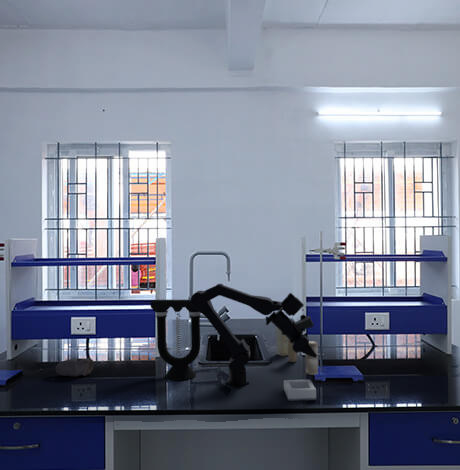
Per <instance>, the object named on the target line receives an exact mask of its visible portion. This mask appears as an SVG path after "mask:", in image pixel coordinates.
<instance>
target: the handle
mask: <svg viewBox="0 0 460 470" xmlns="http://www.w3.org/2000/svg"><path fill="white" fill-rule="evenodd" d="M287 356H288V361H289V362H290V363H291V362H292V363H296V362H297V357H298V353H296V352H295V351H294V350H293V349H292V343H291V342H290V340H289V339H288V355H287Z"/></svg>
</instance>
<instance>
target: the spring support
mask: <svg viewBox="0 0 460 470" xmlns="http://www.w3.org/2000/svg"><path fill="white" fill-rule="evenodd" d="M150 308H151V309H152V310H153V311H154V312H155V314H156V315H155V317H156V329H157V330H156V331H157V332H156V333H157V336H156V340H157V342H156V343H157V346H156V347H157V351H158V354H159V355H160V358H161V359H162V361H164V362H165V363H166V364H168V365H169V366H171V367H170V368H169V369H168V371H167V372H166V374H165V375H164V377H165V379H167V380H170V381H171V380H172V381H185V380H189V379H192V378H195V377H196V375H197V374H196V372H195V371H194V370H193V368H192V367H190V364H192V363H193V362H195V361H196V359H197V358H198V356H199V354H200V350H201V315H202V313H200V312H199V311H198V310H197V309H196V308H194V307H193V306H192V304H191V299H154V300H151V302H150ZM170 308H172V309H173V311H174V312H175V314H176V315H177V316H176V317H175V334H176V335H175V336H176V337H175V344H176V345H175V346H176V350H175V351H176V356H173V354H172V353H170V352H169V350H168V348H167V329H166V328H167V327H166V326H167V325H166V322H167V321H166V319H167V317H168V313H169V309H170ZM183 308H185V309H186V310H187V311H188V313H189V314H190V315H189V317H190V320H191V321H190V322H191V324H190V326H191V327H190V328H191V329H190V331H191V333H190V335H191V336H190V337H191V348H190V351H189V353H187V354H186V355H185V356H181V355H182V349H181V348H182V347H181V346H182V345H181V344H182V340H181V339H182V338H181V337H182V336H181V335H182V329H181V328H182V327H181V326H182V325H181V324H182V321H181V320H180V318H181V317H182V316H181V315H180V313H181V311H182V310H183ZM178 353H179V354H178Z"/></svg>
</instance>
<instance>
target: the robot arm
mask: <svg viewBox="0 0 460 470" xmlns="http://www.w3.org/2000/svg"><path fill="white" fill-rule="evenodd" d="M218 296H220V297H223V298H226V299H229V300H232V301H235V302H236V303H237V302H238V303H240V304H243V305H246V306H248V307H250V308H251V309H253V310H254V311H256V312H258V313H259V314H261V315H264V316H265V325H266V326H268V325H269V324H270V323H272V324H273V325H274V326H275V328H278V329H279V330H280V331H281V332H282V334H283V335H285V336H286V337H287V338H288V339H289V340H290V342H291V343H292V349H293V350H294V351H295V352H296V353H297V354H298V353H301V354H304V355H306V354H307V355H309V356H312V357H314V358H316V357H317V355H316V353H315V352H314V351H313V349H312V348H311V346H310V345H309V341H310V338H309V337H308V333H307V329H309V328H310V329H311V328H313V327H314V326H315V325H314V322H313V320H312V318H311V317H310V315H307V316H306V314H302V315H300V316H299V318H300V319H298V320H297V321H295V320H294V319H291V318H290V317H289V316H293V317H295V315H296V314H297V313H299V311H300V310H301V309H302V308H303V307H304V306H305V304H304V303H303V302H302V301H301V300H300V299H299V298H298V297H296V296H295V295H294V294H293V293H292V292H290V293H288V294H287V296H286V297H284V299H283V300H282V301H279V300H278V301H277V300H273V299H272V298H270V297H266V296H260V295H253V294H250V293H246V292H243V291H241V290H238V289H236V288H232V287H231V286H230V287H229V286H227V285H224V284H223V283H218V284H216V285H214V286H212V287H210V288H207V289H205V290H197V291H196V292H194V293H193V294H192V295H191V298H190V300H191V304H192V306H193V307H194V308H196V309H197V310H198V311H199V312H200V313H201V315H203V316H205V317H206V319H207V320H208V322H209V323H210V325H212V326H213V328H214V329H215V331H216V332H217V334H218V335H219V336H220V337H221V338H222V340H223V341H224V343H225V344H226V346H227V347H228V350H229V352H230V355H231V357H230V359H229V362H228V380H226V381H225V383H226V384H228V385H230V386H233V387H235V388H238V387H241V386H244V385H248V384H250V381H248V380H247V368H246V366H245V365H247V364H248V363H249V361H250V358H251V349H250V345H248V344H247V342H246V341H245V339H244V338H242V339H241V340H240V339H238V338H237V337H236V336H235V334H234V333H233V332H232V330H231V329H230V328H229V327H228V325H227V324H226V323H225V321H224V320H223V319H222V317H221V316H220V315H219V314H218V312H217V310H216V309H214V306H213V303H212V300H213V299H215V298H217V297H218Z"/></svg>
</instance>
